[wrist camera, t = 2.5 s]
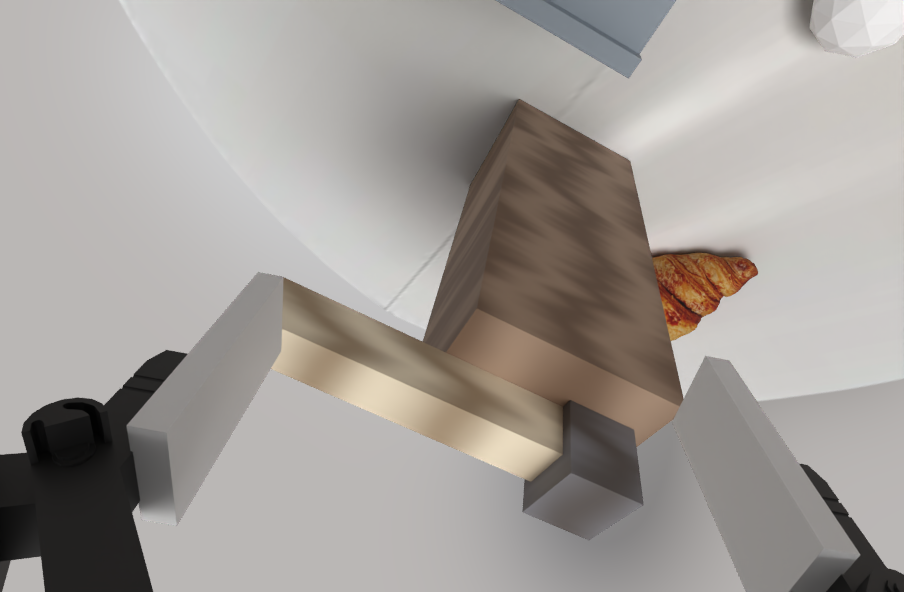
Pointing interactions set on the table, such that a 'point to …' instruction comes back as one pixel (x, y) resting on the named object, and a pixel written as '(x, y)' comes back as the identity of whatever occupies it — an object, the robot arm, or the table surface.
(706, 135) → the table surface
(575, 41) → the rail stand
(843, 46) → the ornament
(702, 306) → the croissant
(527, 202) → the walnut stand
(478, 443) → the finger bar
